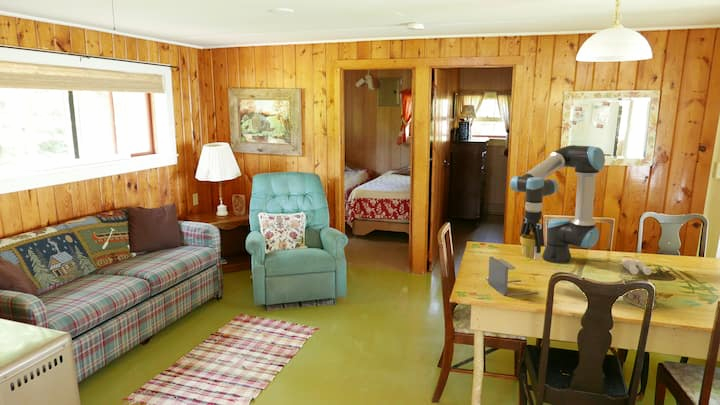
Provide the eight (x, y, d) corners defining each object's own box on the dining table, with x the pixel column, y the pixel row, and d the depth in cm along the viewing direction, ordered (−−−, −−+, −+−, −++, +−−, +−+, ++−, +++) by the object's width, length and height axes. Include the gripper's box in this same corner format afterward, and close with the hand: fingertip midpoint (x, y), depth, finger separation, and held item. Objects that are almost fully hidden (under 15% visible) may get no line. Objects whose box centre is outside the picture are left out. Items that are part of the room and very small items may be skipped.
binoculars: (629, 274, 256) (630, 266, 255) (619, 264, 272) (620, 256, 271) (651, 275, 254) (652, 267, 253) (640, 265, 270) (640, 257, 269)
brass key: (495, 275, 256) (496, 274, 256) (500, 277, 254) (500, 275, 253) (484, 279, 252) (484, 277, 252) (489, 281, 249) (489, 279, 249)
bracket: (519, 280, 250) (521, 253, 247) (538, 293, 233) (540, 264, 230) (487, 283, 246) (488, 256, 243) (504, 296, 230) (506, 267, 227)
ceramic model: (662, 304, 219) (664, 282, 217) (652, 311, 212) (654, 289, 210) (628, 295, 230) (630, 274, 228) (618, 301, 222) (620, 280, 220)
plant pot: (543, 260, 232) (545, 240, 230) (520, 259, 234) (521, 239, 232) (540, 253, 242) (541, 234, 240) (518, 252, 244) (519, 233, 242)
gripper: (514, 206, 244) (511, 249, 248) (539, 216, 222) (536, 263, 227) (527, 205, 245) (525, 248, 250) (554, 215, 224) (551, 262, 228)
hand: (530, 255), depth 238 cm, fingers closed on plant pot, 10 cm apart
